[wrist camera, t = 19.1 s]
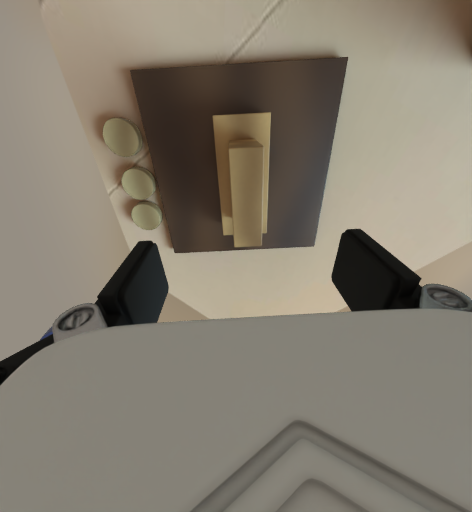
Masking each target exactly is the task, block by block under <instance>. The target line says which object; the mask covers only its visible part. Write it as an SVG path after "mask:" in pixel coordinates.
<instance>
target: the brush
mask: <svg viewBox="0 0 472 512" xmlns="http://www.w3.org/2000/svg"><path fill="white" fill-rule="evenodd" d="M270 123H271V112H265V113H247V114H230V115H213V127H214V138H215V149H216V160H217V171H218V182H219V193H220V204H221V215H222V226H223V235H233V237H234V247H252V246H262V233H267V208H268V180H269V152H270Z"/></svg>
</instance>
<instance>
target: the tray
mask: <svg viewBox="0 0 472 512" xmlns="http://www.w3.org/2000/svg"><path fill="white" fill-rule="evenodd" d="M347 61H348V57H340V58H324V59H307V60H291V61H274V62H258V63H241V64H225V65H208V66H192V67H175V68H159V69H142V70H130V72H131V76H132V80H133V84H134V88H135V93H136V97H137V101H138V105H139V109H140V113H141V117H142V121H143V125H144V129H145V133H146V137H147V142H148V146H149V150H150V154H151V158H152V162H153V166H154V170H155V174H156V178H157V182H158V186H159V191H160V195H161V199H162V203H163V207H164V211H165V215H166V219H167V223H168V227H169V231H170V235H171V239H172V244H173V248H174V252H175V253H189V252H209V251H229V250H249V249H270V248H290V247H310V246H314V245H315V239H316V233H317V228H318V222H319V217H320V211H321V206H322V200H323V194H324V189H325V183H326V178H327V172H328V167H329V161H330V155H331V150H332V144H333V139H334V133H335V128H336V122H337V117H338V111H339V105H340V100H341V94H342V89H343V83H344V78H345V72H346V66H347ZM265 112H271V123H270V152H269V180H268V208H267V233H262V246H252V247H234V237H233V235H223V226H222V215H221V204H220V193H219V182H218V171H217V160H216V149H215V138H214V127H213V115H230V114H247V113H265Z"/></svg>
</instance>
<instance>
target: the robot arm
mask: <svg viewBox="0 0 472 512" xmlns="http://www.w3.org/2000/svg"><path fill="white" fill-rule="evenodd" d="M420 280H421V278H420V277H419V276H418V275H417V274H415V273H414V272H413V271H412V270H411V269H409V268H408V267H407V266H406V265H404V264H403V263H402V262H401V261H399V260H398V259H397V258H396V257H394V256H393V255H392V254H391V253H390V252H388V251H387V250H386V249H385V248H383V247H382V246H381V245H380V244H378V243H377V242H376V241H375V240H373V239H372V238H371V237H370V236H368V235H367V234H366V233H365V232H364V231H362V230H361V229H348V230H346V231H345V233H342V235H341V239H340V243H339V247H338V252H337V256H336V260H335V264H334V268H333V272H332V282H333V283H334V285H335V286H336V288H337V289H338V291H339V293H340V294H341V296H342V297H343V299H344V300H345V302H346V303H347V305H348V306H349V308H350V309H351V311H352V312H334V313H316V314H298V315H280V316H262V317H245V318H227V319H210V320H193V321H178V322H162V323H157V321H158V318H159V315H160V313H161V310H162V307H163V304H164V301H165V299H166V296H167V293H168V282H167V279H166V275H165V272H164V268H163V265H162V261H161V258H160V254H159V251H158V247H157V245H156V243H153V242H152V241H139V242H138V243H137V244H136V246H135V247H134V248H133V250H132V251H131V252H130V254H129V255H128V256H127V258H126V259H125V260H124V262H123V263H122V264H121V266H120V267H119V268H118V270H117V271H116V272H115V274H114V275H113V276H112V278H111V279H110V280H109V282H108V283H107V284H106V286H105V287H104V288H103V290H102V291H101V292H100V293H99V295H98V296H97V298H98V300H97V301H96V302H95V304H92V303H86V304H81V305H77V306H75V307H72V308H70V309H69V310H67V311H65V312H64V313H62V314H61V315H60V316H59V317H58V318H57V319H56V320H55V322H54V323H53V326H52V332H53V334H51V335H49V336H48V337H46V338H44V339H42V340H40V341H38V342H36V343H34V344H32V345H31V346H29V347H27V348H25V349H23V350H21V351H19V352H17V353H15V354H14V355H12V356H10V357H8V358H6V359H4V360H2V361H0V512H472V300H471V299H470V298H469V297H468V296H467V295H465V294H464V293H462V292H460V291H458V290H456V289H454V288H451V287H448V286H444V285H440V284H426V285H424V286H423V287H421V286H420V285H419V282H420Z"/></svg>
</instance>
